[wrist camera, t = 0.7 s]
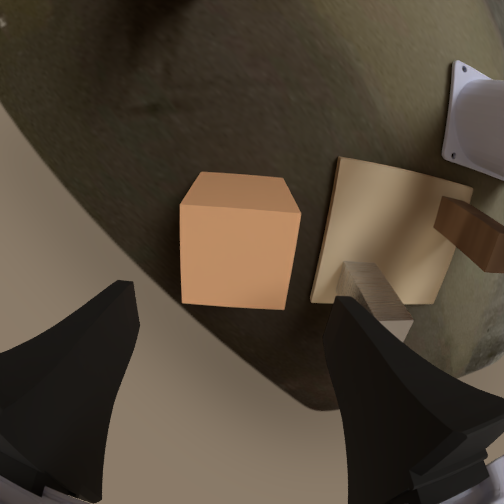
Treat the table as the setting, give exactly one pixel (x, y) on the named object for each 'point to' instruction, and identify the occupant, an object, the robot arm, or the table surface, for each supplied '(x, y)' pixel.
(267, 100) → the table surface
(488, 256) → the post
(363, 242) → the board
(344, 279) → the post
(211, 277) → the tan rectangular block
